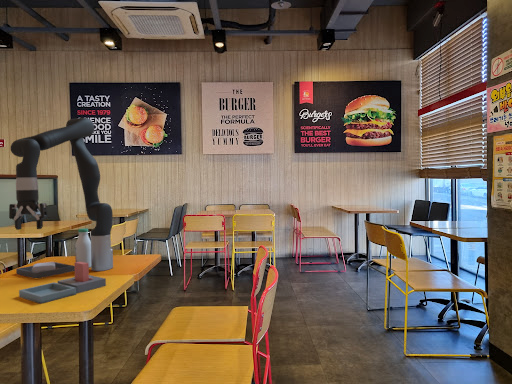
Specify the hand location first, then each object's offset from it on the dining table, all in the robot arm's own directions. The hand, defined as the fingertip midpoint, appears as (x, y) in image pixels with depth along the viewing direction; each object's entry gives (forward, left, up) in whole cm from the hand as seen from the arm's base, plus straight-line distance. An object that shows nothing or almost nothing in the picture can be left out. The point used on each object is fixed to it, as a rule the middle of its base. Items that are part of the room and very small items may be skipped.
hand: (29, 229), depth 144 cm
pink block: (-13, +15, -25) cm, 31 cm away
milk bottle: (-35, -20, -25) cm, 47 cm away
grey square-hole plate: (-13, +15, -25) cm, 31 cm away
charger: (-19, -27, -25) cm, 41 cm away
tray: (0, +15, -25) cm, 29 cm away
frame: (-19, -26, -25) cm, 41 cm away
